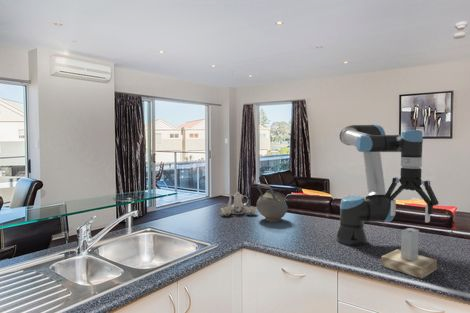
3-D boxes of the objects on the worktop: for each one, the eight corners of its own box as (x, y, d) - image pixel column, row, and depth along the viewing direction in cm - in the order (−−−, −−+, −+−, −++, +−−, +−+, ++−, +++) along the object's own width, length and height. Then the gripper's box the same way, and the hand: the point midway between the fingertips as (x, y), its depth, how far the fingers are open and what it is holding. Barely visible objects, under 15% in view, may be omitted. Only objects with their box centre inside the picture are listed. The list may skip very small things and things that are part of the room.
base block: (381, 265, 133) (381, 256, 132) (397, 257, 141) (397, 249, 141) (421, 278, 120) (422, 268, 120) (436, 269, 128) (436, 259, 128)
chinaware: (221, 220, 216) (221, 196, 214) (217, 212, 233) (217, 190, 230) (259, 217, 222) (260, 195, 220) (253, 210, 239) (254, 189, 236)
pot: (262, 225, 196) (262, 185, 194) (252, 217, 216) (252, 181, 214) (292, 223, 201) (292, 184, 199) (280, 215, 221) (280, 180, 219)
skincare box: (408, 255, 134) (408, 227, 133) (418, 258, 130) (419, 229, 129) (400, 258, 130) (400, 229, 130) (410, 261, 126) (411, 232, 126)
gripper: (376, 165, 136) (375, 213, 137) (441, 170, 116) (439, 226, 117) (385, 164, 140) (384, 211, 142) (449, 169, 121) (447, 223, 122)
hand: (409, 218), depth 130 cm, fingers open, 13 cm apart
